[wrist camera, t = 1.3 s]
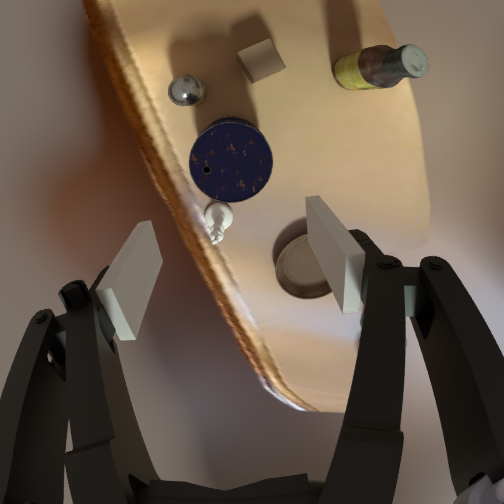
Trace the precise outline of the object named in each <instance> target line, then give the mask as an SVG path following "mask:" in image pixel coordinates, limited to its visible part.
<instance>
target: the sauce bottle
mask: <svg viewBox="0 0 504 504" xmlns="http://www.w3.org/2000/svg"><path fill="white" fill-rule="evenodd" d="M428 69H429V62H428V58H427V56H426V54H425V53H424V51H423V50H422V49H421V48H419V47H418V46H416V45H412V44H409V45H404V46H401V47H399V48H398V49H393V48H391V47H389V46H387V45H377V46H373V47H368V48H365V49H362V50H360V51H357V52H354V53H352V54H349V55H347V56H344V57H342V58H341V59H339V60H337V62H336V63H335V65H334V68H333V75H334V78H335V80H336V82H337V83H338V84H339V85H340V86H341V87H343V88H345V89H348V90H354V91H356V90H367V89H382V88H391V87H393V86H395V85H397V84H398V83H399V82H400V81H401V80H402V79H403V78H405V77H410V78H419V77H423V76H424V75H426V74H427V72H428Z"/></svg>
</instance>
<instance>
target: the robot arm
mask: <svg viewBox="0 0 504 504" xmlns="http://www.w3.org/2000/svg"><path fill="white" fill-rule="evenodd" d="M305 198H306V214H307V234H308V242H309V244H310V246H311V248H312V250H313V252H314V254H315V256H316V258H317V260H318V263H319V265H320V267H321V269H322V271H323V273H324V275H325V277H326V279H327V281H328V283H329V285H330V288H331V290H332V292H333V294H334V296H335V298H336V300H337V303H338V305H339V307H340V309H341V311H342V313H343V314H344V313H349V312H354V311H359V310H360V304H361V300H362V302H363V304H364V305H365V310H364V317H363V323H362V330H361V337H360V343H359V349H358V354H357V360H356V365H355V370H354V375H353V380H352V385H351V390H350V394H349V398H348V403H347V407H346V411H345V415H344V419H343V423H342V427H341V431H340V434H339V438H338V442H337V445H336V448H335V452H334V455H333V459H332V462H331V465H330V468H329V471H328V474H327V477H326V481H325V482H324V481H315V480H308V477H307V473H305V474H299V475H292V476H286V477H279V478H270V479H265V480H262V481H258V482H256V483H252V484H249V485H245V486H242V487H238V488H235V489H231V490H226V491H224V490H217V489H213V488H208V487H204V486H199V485H196V484H191V483H188V482H181V481H164V480H161V479H160V478H159V476H158V475H157V473H156V471H155V469H154V467H153V464H152V462H151V459H150V457H149V454H148V451H147V449H146V446H145V443H144V440H143V437H142V435H141V432H140V429H139V426H138V423H137V420H136V416H135V413H134V410H133V407H132V403H131V400H130V396H129V393H128V389H127V386H126V382H125V378H124V374H123V370H122V366H121V362H120V358H119V353H118V349H117V345H116V343H115V341H114V339H113V336H114V333H115V331H116V333H117V334H118V336H119V338H120V340H136V337H137V334H138V331H139V327H140V325H141V321H142V319H143V316H144V313H145V310H146V307H147V304H148V301H149V298H150V295H151V293H152V290H153V287H154V284H155V281H156V279H157V276H158V273H159V270H160V268H161V265H162V262H163V261H162V257H161V254H160V251H159V248H158V244H157V241H156V237H155V234H154V231H153V227H152V223H151V220H150V221H145V222H139V223H138V225H137V226H136V227H135V229H134V230H133V232H132V233H131V235H130V236H129V238H128V239H127V240H126V242H125V244H124V245H123V247H122V248H121V250H120V251H119V253H118V254H117V256H116V257H115V259H114V261H113V262H112V264H111V265H110V266H107V267H106V268H104V269H103V270H102V271H101V272H100V273H99V275H98V277H97V279H96V280H95V281H94V284H93V285H92V286H91V288H90V289H89V290H88V288H87V286H86V284H85V282H84V281H83V280H75V281H72V282H70V283H68V284H66V285H65V286H64V287H62V289H61V290H60V291H59V294H58V295H59V297H60V299H61V300H62V302H63V304H64V306H65V308H66V310H67V313H66V314H63V315H60V316H56V317H55V315H54V314H53V312H52V310H50V309H44V310H40V311H39V312H37V313H36V314H35V315H34V316H33V317H32V319H31V320H30V323H29V325H28V327H27V329H26V332H25V334H24V336H23V338H22V341H21V343H20V345H19V348H18V350H17V353H16V355H15V358H14V361H13V363H12V366H11V369H10V372H9V374H8V377H7V380H6V383H5V386H4V389H3V392H2V395H1V398H0V504H63V499H64V465H65V467H66V473H67V478H68V483H69V488H70V492H71V497H72V501H73V504H392V501H393V497H394V493H395V488H396V483H397V479H398V473H399V467H400V462H401V456H402V450H403V441H404V435H403V432H402V431H401V430H400V422H401V413H402V403H403V391H404V375H405V347H406V335H405V334H406V327H405V325H406V322H405V316H410V319H411V322H412V325H413V328H414V331H415V333H416V337H417V339H418V342H419V346H420V348H421V352H422V355H423V358H424V361H425V364H426V368H427V371H428V375H429V378H430V382H431V385H432V389H433V393H434V397H435V400H436V404H437V408H438V412H439V417H440V421H441V426H442V430H443V435H444V441H445V446H446V451H447V457H448V464H449V469H450V474H451V479H452V482H453V486H454V489H455V492H456V495H457V498H456V500H455V501H454V503H453V504H504V357H503V355H502V352H501V350H500V349H499V346H498V344H497V343H496V341H495V339H494V337H493V335H492V333H491V331H490V329H489V327H488V325H487V324H486V322H485V320H484V318H483V317H482V315H481V313H480V311H479V310H478V308H477V306H476V305H475V303H474V301H473V300H472V298H471V296H470V295H469V293H468V291H467V290H466V288H465V287H464V285H463V284H462V282H461V280H460V279H459V277H458V276H457V274H456V273H455V272H454V270H453V268H452V267H451V266H450V264H449V263H448V262H447V261H446V260H444V259H442V258H440V257H437V256H428V257H425V258H423V259H422V260H421V262H420V267H404V266H403V265H402V263H401V261H400V260H399V259H398V258H395V257H393V256H389V255H384V254H383V253H382V252H381V250H380V249H379V248H378V247H377V246H376V245H375V244H374V242H373V241H372V240H370V238H369V237H368V235H367V234H366V233H364V232H362V231H360V230H358V229H355V230H347V229H346V228H345V226H344V225H343V224H342V223H341V222H340V220H339V219H338V218H337V217H336V215H335V214H334V213H333V212H332V211H331V209H330V208H329V207H328V206H327V205H326V203H325V202H324V201H323V200H322V199H321V198H320V196H319V195H318V196H309V197H305ZM48 354H49V355H50V356H51V358H52V360H51V362H49V361H48V357H47V355H48ZM68 421H70V429H71V436H72V442H73V450H72V451H69V452H66V454H65V450H66V438H67V429H68Z"/></svg>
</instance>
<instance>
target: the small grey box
mask: <svg viewBox="0 0 504 504" xmlns="http://www.w3.org/2000/svg"><path fill="white" fill-rule="evenodd" d="M237 60H238V61H239V63H240V65H241V66H242V68H243V70H244V72H245V73H246V75H247V77H248V79H249V80H250V82H251V84H253V83H255V82H257V81H259V80H261V79H264V78H266V77H268V76H270V75H273V74H275V73H277V72H280V71H281V70H283V69H284V68H286V66H285V64H284V62H283V61H282V59H281V57H280V55H279V53H278V52H277V50H276V48H275V46H274V45H273V43H272V41H271V40H270V38H269V39H267V40H264V41H262V42H260V43H257V44H255V45H253V46H250V47H248V48H246V49H243V50H241V51H239V52H237Z"/></svg>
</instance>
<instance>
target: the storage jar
mask: <svg viewBox="0 0 504 504" xmlns="http://www.w3.org/2000/svg"><path fill="white" fill-rule="evenodd" d="M272 168H273V156H272V152H271V149H270V146H269V144H268V142H267V140H266V138H265V137H264V136H263V134H262V133H261V132H260V131H259V130H258V129H257V128H256V127H255V126H254V125H253V124H252V123H250V122H249V121H247V120H245V119H242V118H239V117H226V118H222V119H219V120H217V121H215V122H213V123H212V124H211V125H209V126H208V127H207V128H206V129H205V130H204V131H203V132H202V133H201V134H200V135H199V137H198V138H197V140H196V141H195V143H194V145H193V147H192V149H191V152H190V156H189V169H190V174H191V177H192V179H193V181H194V183H195V184H196V186H197V187H198V188H199V189H200V191H202V192H203V193H204V194H205V195H207V196H208V197H210V198H212V199H214V200H216V201H220V202H226V203H236V202H241V201H244V200H247V199H249V198H251V197H253V196H255V195H256V194H258V193H259V192H260V191H261V190H262V189H263V188H264V186H265V185H266V184H267V182H268V180H269V178H270V176H271V173H272Z"/></svg>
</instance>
